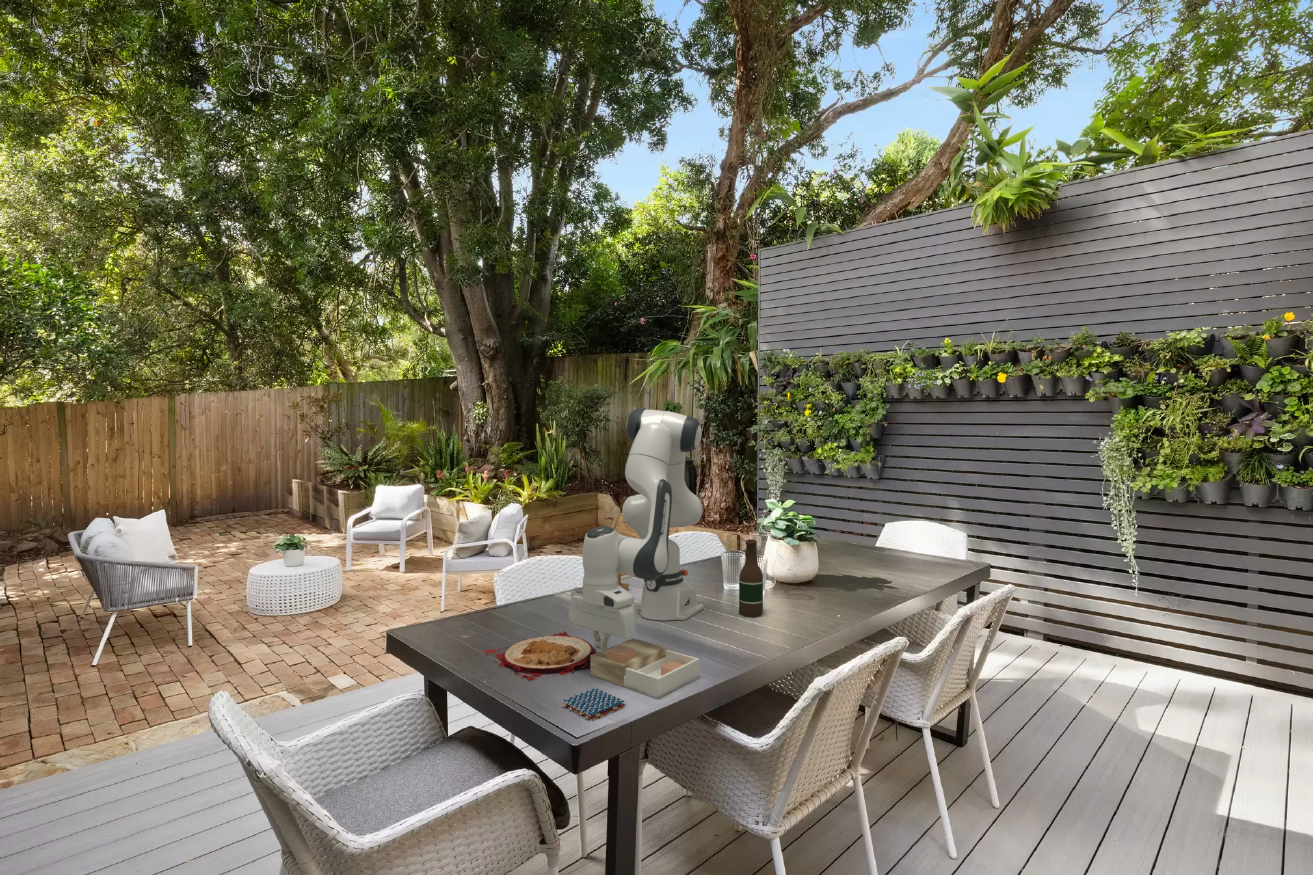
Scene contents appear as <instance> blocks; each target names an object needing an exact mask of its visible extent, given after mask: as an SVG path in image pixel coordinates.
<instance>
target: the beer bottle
mask: <svg viewBox="0 0 1313 875" xmlns="http://www.w3.org/2000/svg"><path fill="white" fill-rule="evenodd" d="M744 543H745V545H746V546H745V557H744V558H745V561H744V566H743V567H742V568H741V570H740V573H739V576H738V578H739V579H738V588H739V589H738V613H739V615H740V616H742V617H745V618H759V617H761V616H762V615H763V612H764V574H763V572H762V569H761V568H760V566H759V563H758V553H757V544H758V541H757V540H756V539H753V538H751V539H747V540H746V541H745V542H744Z"/></svg>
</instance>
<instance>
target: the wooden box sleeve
mask: <svg viewBox="0 0 1313 875" xmlns="http://www.w3.org/2000/svg"><path fill="white" fill-rule="evenodd" d="M618 645H623V646H627V647H630V648H633V649H636V657H635V658H633V659H630V660H628V661H626V662H624V663H620V662H617V661H613V660H610V659H607V650H608V649H611V648H613V647H616V646H618ZM666 650H667V648H666V646H662V645H660V644H659V645H658V644H655V643H651V642H648V641H644V640H640V639H637V638H634V637H633V638H631V639H628V640H625V641H622V642H620V643H618V644H615V645H613V646H610V647H607V648H606V649H604V650H603V649H601V650H600V651H596V652H597V653H595V654H592V655H591V661H590V663H591V667H590V676H592V677H594V678H597V679H601V680H602V681H607V682H609V683H612V684H614V685H617V686H620V687H622V688H623V687H624V676H626V668H629V669H632V670H636V671H637V670H639V669H641V668H643V667H645V666H647V665H650V664H652V663H654V662H656V661H658V660H660V659H663V658H665V657H666ZM624 688H625V687H624Z"/></svg>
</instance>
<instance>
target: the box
mask: <svg viewBox="0 0 1313 875" xmlns="http://www.w3.org/2000/svg"><path fill="white" fill-rule="evenodd" d="M672 661H675V662H678V663H682V664H685V665H683V666H681V667H679V668H677V669H675V670H673V671H671V672H669V673H667V674H665V675H663V676H662V675H661V667H662V666H664V665H666V664H668V663H670V662H672ZM698 678H700V658H697V657H695V656H690V655H686V654H683V653H680V652H676V651H674V650H669V649H666V657H665V658H663V659H660V660H658V661H656V662H654V663H652V664H650V665H647V666H645V667H643V668H641V669H639V670H637V671H636V670H632V669H629V668H626V676H624V688H626V689H629V690H632V691H635V692H637V693H641V694H643V695H647V696H649V697H652V698H655V699H657V700H658V699H661V698H663V697H664V696H667V695H669V694H671V693H672V692H674V691H676V690H678V689H680V688H681V687H684V686H685V685H687V684H689V683H690V682H693V681H695V680H697V679H698Z"/></svg>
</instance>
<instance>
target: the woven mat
mask: <svg viewBox="0 0 1313 875" xmlns="http://www.w3.org/2000/svg"><path fill="white" fill-rule="evenodd" d="M574 696H575V697H574ZM574 696H573V697H572V696H570V697H569V696H568V697H569V699H565V698H564V699H563V705H562V707H563V708H567V710H569V711H570V712H573V713H575V715H576V716H578V715H579V716H581V717H582V718H585V719H586V720H589V721H590V722H593V721H595V720H597V719H600V718H602V717H605V716H608V715H609V714H612V713H614V712H617V711H619V710H621V709H623V708H626V707H627V704H626V703H625V700H624V699H622V698H619V697H617V696H615V695H613V694H610V693H609V692H606V691H605V690H602V689H600V688H591V690H586V691H585V692H581V693H580V694H575V695H574Z"/></svg>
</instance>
